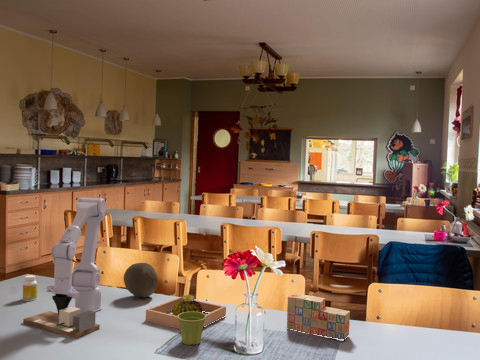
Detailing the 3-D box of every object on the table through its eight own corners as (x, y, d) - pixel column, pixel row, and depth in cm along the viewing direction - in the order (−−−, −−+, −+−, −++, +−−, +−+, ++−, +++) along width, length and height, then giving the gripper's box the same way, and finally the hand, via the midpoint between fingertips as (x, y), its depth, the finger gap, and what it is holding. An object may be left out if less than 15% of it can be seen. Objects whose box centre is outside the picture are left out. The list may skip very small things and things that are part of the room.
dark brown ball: (146, 291, 213) (147, 258, 213) (163, 298, 203) (164, 264, 202) (117, 296, 204) (118, 262, 203) (134, 304, 193) (135, 268, 193)
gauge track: (49, 315, 176) (49, 297, 176) (99, 329, 163) (99, 310, 163) (23, 323, 167) (23, 304, 166) (74, 338, 154) (74, 318, 154)
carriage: (70, 319, 166) (70, 306, 166) (80, 322, 164) (80, 308, 164) (51, 326, 159) (51, 312, 159) (61, 329, 157) (61, 314, 157)
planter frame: (179, 306, 192) (180, 296, 192) (225, 316, 181) (226, 306, 181) (145, 320, 174) (145, 309, 174) (194, 332, 163) (194, 321, 163)
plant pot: (193, 349, 148) (194, 322, 148) (170, 342, 153) (171, 316, 153) (211, 340, 156) (211, 315, 156) (188, 334, 161) (189, 309, 161)
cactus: (157, 325, 170) (158, 299, 169) (172, 312, 185) (172, 288, 185) (203, 330, 166) (204, 303, 166) (214, 316, 182) (215, 291, 182)
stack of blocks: (349, 337, 164) (350, 302, 164) (343, 342, 159) (345, 306, 159) (293, 325, 175) (294, 292, 175) (286, 329, 170) (287, 296, 169)
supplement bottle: (31, 301, 192) (31, 278, 191) (19, 300, 193) (20, 277, 193) (39, 298, 197) (40, 275, 197) (28, 297, 198) (28, 274, 198)
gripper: (39, 275, 164) (38, 314, 165) (68, 282, 157) (67, 322, 158) (56, 272, 170) (55, 309, 171) (84, 278, 163) (83, 316, 164)
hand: (62, 315), depth 165 cm, fingers closed
